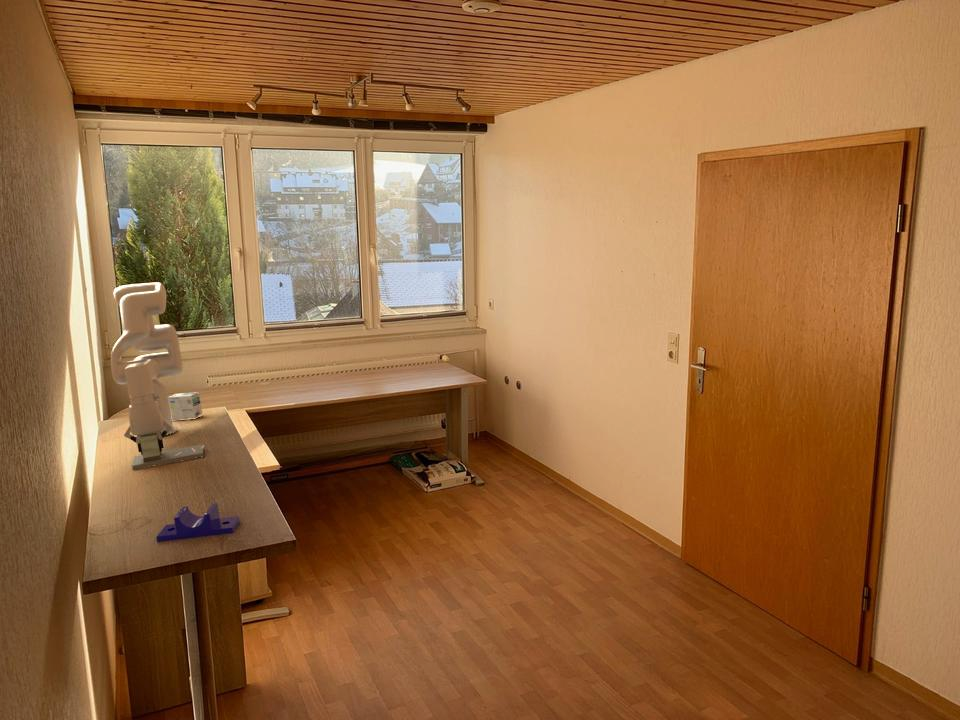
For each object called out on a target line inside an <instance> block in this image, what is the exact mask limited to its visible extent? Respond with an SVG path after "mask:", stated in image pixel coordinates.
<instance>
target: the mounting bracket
mask: <svg viewBox="0 0 960 720" xmlns="http://www.w3.org/2000/svg"><path fill="white" fill-rule="evenodd" d="M173 521H174V523H172V524H171V523H170V524H165V526H164V527H163V528H162V529H161V531H159V532H158V534H157V535H156V542H157V543H160V542H162V543H163V542H169V540H171V541H176V540H185V539H194V538H202V537H203V538H204V537H211V536H217V535H227V534H233V533H234V532H235V530H237V529H236V528H237V527H238V526H239V524H240V522H241V521H240V516H228V517H223V518H221V517H220V511H219V506H218V502H213V503H211V505H210V506H209V507H208V509H207V510H206V512H204V515H197V514H194V513H192V511H191V510H190V509H189V506H182V508H181V509H180V510H179V511H178V512H177V513H176V515H175V516H174V517H173Z"/></svg>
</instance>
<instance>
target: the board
mask: <svg viewBox="0 0 960 720" xmlns="http://www.w3.org/2000/svg"><path fill="white" fill-rule="evenodd" d="M204 447H205V445H203V444H196V445H192V446H191V445H190V446H185V447H179V448H174V449H167V450H162V451H161V458H160V460H154V461H149V462H144V460H143V455H141V454H140V455H134V458H133V461H132V464H131V467H132V471H134V470H135V469H136V470H140V469H139V468H141V469H145V468H144V467H147V468H149V467H148V466H152V467H154V466H153V465H158V466H160V465H159V464H163V465H168V464H167V463H169V464H173V463H172V462H174V463H178V462H177V461H179V462H182V461H181V460H185V461H188V460H187V459H190V460H192V459H191V458H195V457H201V456H204V457H205V455H204V454H205V453H203V452H204ZM201 458H202V457H201Z"/></svg>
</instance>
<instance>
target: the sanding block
mask: <svg viewBox="0 0 960 720" xmlns="http://www.w3.org/2000/svg"><path fill="white" fill-rule="evenodd" d="M140 443H141V448H142V454H143V460H144V462H149V461H154V460H160V458H161V452H162V451H161V452H160V451H159V445H158V436H157V434H156V432H154V433H148V434H142V435H141V437H140Z"/></svg>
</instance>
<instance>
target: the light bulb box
mask: <svg viewBox="0 0 960 720" xmlns="http://www.w3.org/2000/svg"><path fill="white" fill-rule="evenodd" d="M168 401H169V406H170V412H171V418H172V420H179V419H188V418H196V417H198V416H199V415H201V414H202V413H203V409H202V408H203V407H202V402H201V397H200V392H199V391H195V392H194V391H193V392H182V393H174V394H173V395H170V396H168Z"/></svg>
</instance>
